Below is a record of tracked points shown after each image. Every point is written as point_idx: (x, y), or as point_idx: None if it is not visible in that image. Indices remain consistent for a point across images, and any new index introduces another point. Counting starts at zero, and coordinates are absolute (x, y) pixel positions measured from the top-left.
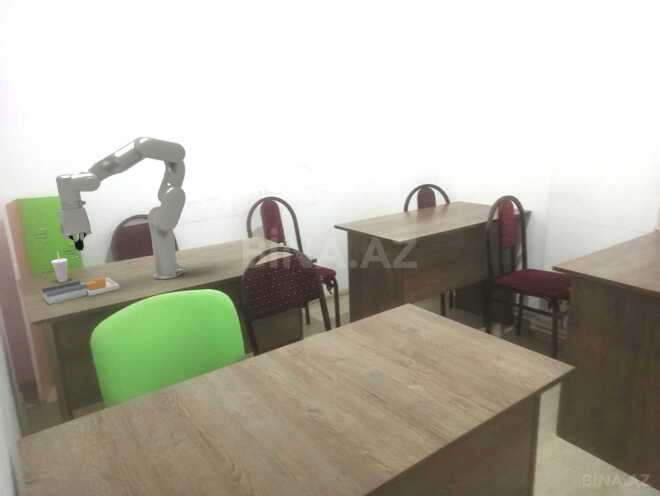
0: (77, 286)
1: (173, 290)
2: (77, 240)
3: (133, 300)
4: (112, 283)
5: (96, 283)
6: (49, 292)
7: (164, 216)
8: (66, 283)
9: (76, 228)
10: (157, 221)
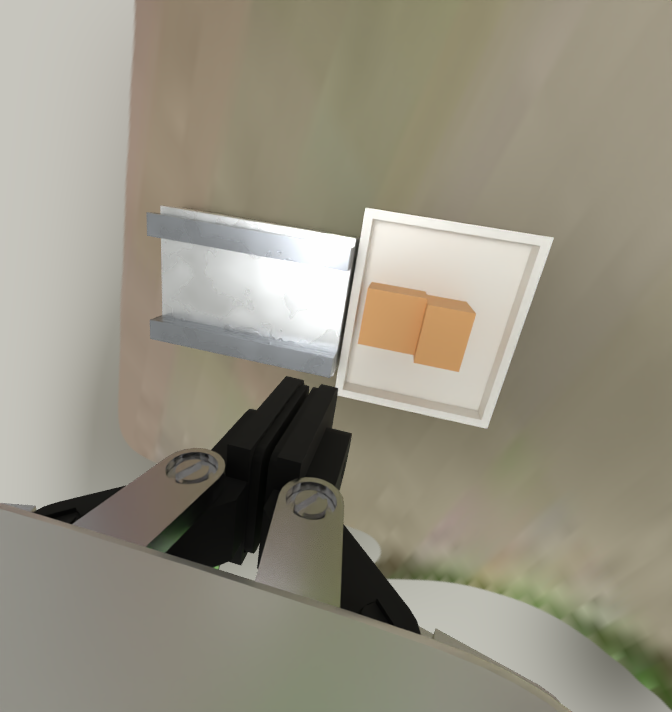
0: (290, 367)
1: (591, 622)
2: (218, 566)
3: (420, 572)
4: (504, 338)
5: (406, 351)
6: (163, 333)
7: None
8: (271, 251)
9: None
10: None
